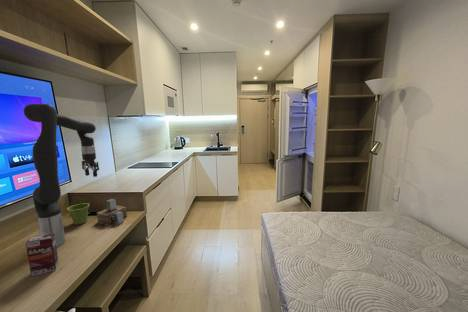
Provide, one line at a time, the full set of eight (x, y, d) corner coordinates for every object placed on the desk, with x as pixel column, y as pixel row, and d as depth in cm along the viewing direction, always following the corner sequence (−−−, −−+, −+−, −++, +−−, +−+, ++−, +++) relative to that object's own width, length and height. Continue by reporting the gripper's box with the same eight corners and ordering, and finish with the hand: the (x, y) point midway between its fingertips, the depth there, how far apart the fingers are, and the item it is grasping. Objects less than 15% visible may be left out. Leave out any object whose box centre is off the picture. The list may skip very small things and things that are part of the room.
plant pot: (94, 217, 142) (93, 202, 140) (84, 226, 130) (82, 209, 129) (76, 218, 140) (74, 203, 139) (64, 227, 129) (62, 210, 127)
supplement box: (30, 277, 87) (24, 243, 84) (35, 270, 91) (29, 237, 88) (56, 270, 91) (51, 237, 88) (59, 264, 95) (54, 232, 92)
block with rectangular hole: (107, 225, 131) (106, 215, 130) (98, 222, 135) (96, 212, 134) (126, 216, 144) (126, 207, 143) (117, 214, 148) (116, 205, 147)
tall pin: (112, 221, 137) (109, 201, 135) (108, 220, 138) (106, 200, 136) (117, 218, 140) (115, 199, 138) (113, 217, 142) (111, 198, 140)
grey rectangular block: (118, 224, 132) (117, 214, 131) (114, 223, 134) (113, 213, 133) (123, 221, 136) (122, 212, 135) (119, 220, 138) (118, 211, 136)
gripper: (76, 152, 135) (79, 176, 138) (89, 153, 129) (92, 178, 132) (87, 151, 142) (90, 173, 144) (101, 152, 136) (103, 175, 139)
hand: (91, 176), depth 138 cm, fingers open, 8 cm apart
